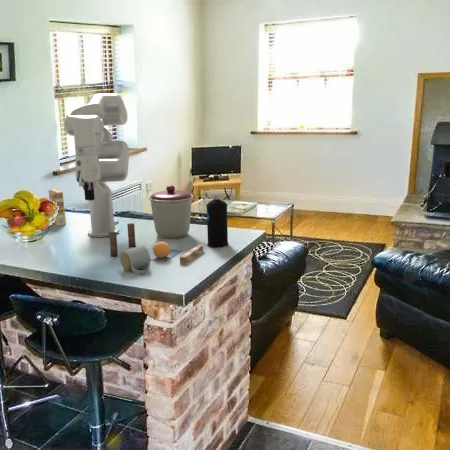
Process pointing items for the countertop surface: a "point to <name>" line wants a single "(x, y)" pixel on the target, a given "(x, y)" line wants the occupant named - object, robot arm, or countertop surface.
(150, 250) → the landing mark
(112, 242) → the post
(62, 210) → the candy box
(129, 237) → the post
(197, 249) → the wall
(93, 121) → the robot arm
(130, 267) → the ceramic mug
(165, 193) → the canister
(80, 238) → the countertop surface
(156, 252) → the ball
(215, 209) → the aerosol can
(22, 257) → the countertop surface
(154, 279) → the countertop surface
